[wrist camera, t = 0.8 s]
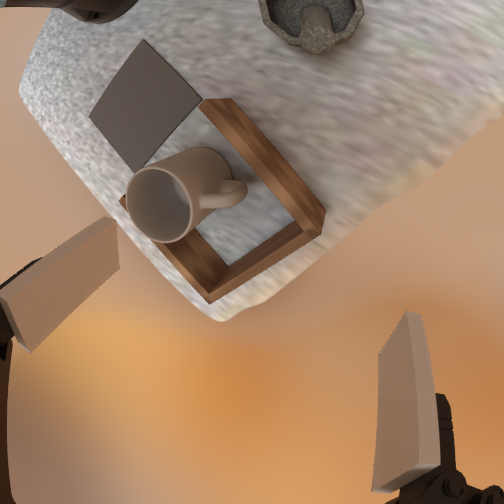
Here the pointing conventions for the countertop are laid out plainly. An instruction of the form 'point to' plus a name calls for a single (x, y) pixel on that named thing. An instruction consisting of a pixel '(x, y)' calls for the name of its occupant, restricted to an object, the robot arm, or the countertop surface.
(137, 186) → the mug
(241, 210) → the countertop surface
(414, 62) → the countertop surface
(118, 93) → the mat
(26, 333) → the robot arm
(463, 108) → the countertop surface
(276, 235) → the open-sided wooden frame
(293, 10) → the mortar and pestle
